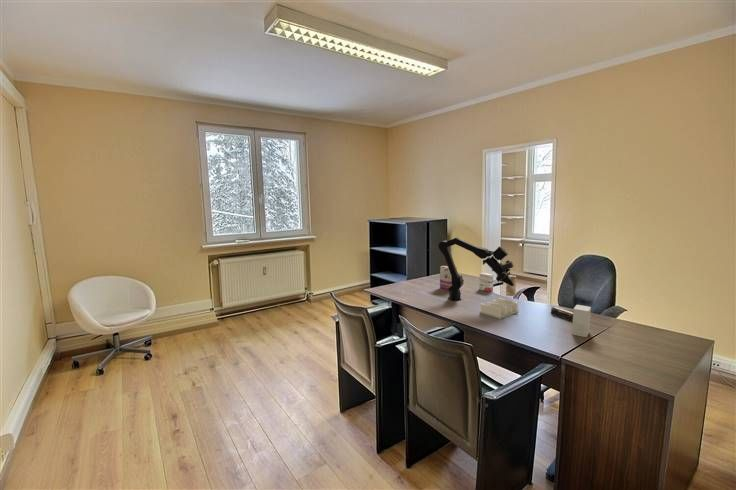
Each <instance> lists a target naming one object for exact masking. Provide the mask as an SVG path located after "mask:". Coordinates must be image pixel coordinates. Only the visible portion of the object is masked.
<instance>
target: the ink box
mask: <svg viewBox="0 0 736 490" xmlns="http://www.w3.org/2000/svg"><path fill="white" fill-rule="evenodd" d="M478 277H479V278H478V279H479V281H478V282H479V283H478V290H480V291H486V292H492V291H494V274H493V273H486V272H480V273H479V276H478Z"/></svg>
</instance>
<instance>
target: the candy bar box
mask: <svg viewBox="0 0 736 490" xmlns="http://www.w3.org/2000/svg"><path fill="white" fill-rule="evenodd" d="M439 267H440V268H439V289H441V290H446V291H449V287H450V286H451V285H452V281H451V274H450V271H449V268H448V265H441V266H439ZM456 270H457V271H458V269H457V267H456Z"/></svg>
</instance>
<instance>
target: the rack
mask: <svg viewBox="0 0 736 490" xmlns="http://www.w3.org/2000/svg"><path fill="white" fill-rule="evenodd" d="M497 299H498V300H496V299H492V302H491V301H487V302H486V304H485V303H480V310H479V313H480V314H482V315H486V316H488V317H493V318H496V319H498V320H501V319H504V318H506V317H510V316H512V315H514V314H517V313H519V310H518V309H519V302H518V301H517V302H516V301H512V300H509V299H506V298H502V297H499V298H497Z"/></svg>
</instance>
